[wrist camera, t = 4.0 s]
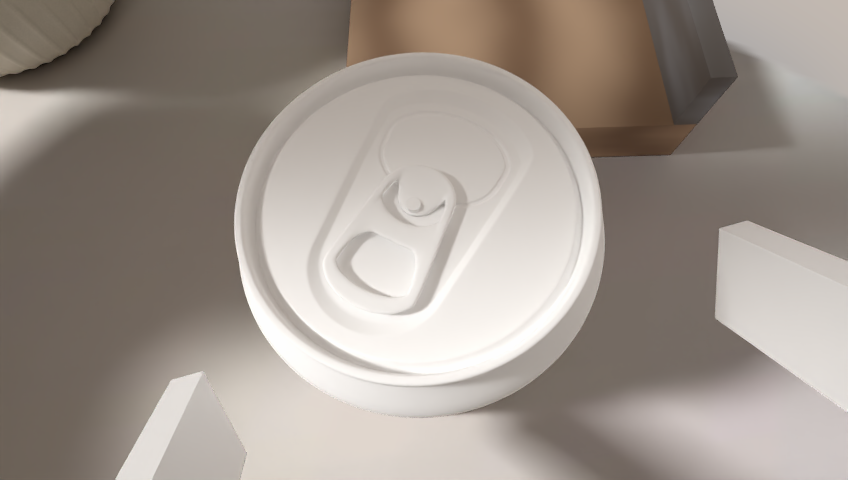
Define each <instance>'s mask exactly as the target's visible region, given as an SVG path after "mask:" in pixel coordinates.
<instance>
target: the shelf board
mask: <svg viewBox="0 0 848 480" xmlns="http://www.w3.org/2000/svg"><path fill="white" fill-rule="evenodd" d="M420 52H425V53H443V54H452V55H458V56H463V57H468V58H472V59H476V60H479V61H483V62H486V63H489V64H491V65H494V66H497V67H499V68H501V69H504V70H506V71H508V72H510V73H512V74H514V75H516V76H518V77H519V78H521V79H523V80H524V81H526V82H528V83H529V84H531V85H532V86H534V87H535V88H536V89H538V90H539V91H540V92H542V93H543V94H544V95H545V96H546V97H548V98H549V99H550V100H551V101H552V102H553V103H554V104H555V105H556V106H557V107H558V108H559V109H560V110H561V111H562V112H563V113H564V115H565V116H566V117H567V118H568V119H569V121H570V122H571V123H572V125H573V126H574V127H575V129H576V130H577V132H578V133H579V135H580V137H581V138H582V140H583V142H584V144H585V146H586V148H587V150H588V152H589V154H590V156H591V157H608V156H641V155H671V154H672V152H673V151H674V150H675V149H676V148H677V147H678V145H679V144H680V143H681V142H682V141H683V140H684V139H685V137H686V136H687V135H688V134H689V133H690V132H691V130H692V129H693V128H694V127H695V126H696V125H697V123H698V122H699V121H700V120H701V119H702V118H703V117H704V115H705V114H706V113H707V112H708V111H709V110H710V108H711V107H712V106H713V105H714V104H715V103H716V101H717V100H718V99H719V98H720V97H721V96H722V95H723V93H724V92H725V91H726V90H727V89H728V88H729V86H730V85H731V84H732V83H733V82H734V81H735V79H736V78H737V77H738V76H737V73H736V70H735V67H734V64H733V61H732V58H731V55H730V52H729V49H728V46H727V43H726V40H725V37H724V34H723V31H722V28H721V25H720V22H719V19H718V16H717V13H716V10H715V7H714V4H713V1H712V0H351V9H350V23H349V37H348V51H347V65H346V67H349V66H352V65H354V64H357V63H360V62H363V61H367V60H370V59H374V58H378V57H383V56H388V55H395V54H403V53H420Z"/></svg>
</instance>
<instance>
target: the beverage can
mask: <svg viewBox="0 0 848 480" xmlns="http://www.w3.org/2000/svg"><path fill="white" fill-rule="evenodd" d="M234 234H235V244H236V250H237V255H238V260H239V267H240V274H241V279H242V284H243V288H244V291H245V295H246V298H247V301H248V304H249V306H250V309H251V311H252V314H253V316H254V318H255V320H256V322H257V324H258V326H259V328H260V329H261V331H262V333H263V334H264V336H265V337H266V339H267V340H268V342H269V343H270V345H271V346H272V347H273V349H274V350H275V351H276V352H277V354H278V355H279V356H280V357H281V358H282V359H283V360H284V361H285V362H286V364H287V365H288V366H289V367H291V368H292V369H293V370H294V371H295V372H296V373H297V374H298V375H299V376H301V377H302V378H303V379H304V380H306V381H307V382H308V383H310V384H311V385H313V386H314V387H316V388H317V389H319V390H320V391H322V392H324V393H325V394H327V395H329V396H331V397H333V398H335V399H337V400H339V401H341V402H344V403H346V404H349V405H351V406H354V407H357V408H360V409H363V410H366V411H370V412H374V413H379V414H384V415H390V416H397V417H409V418H428V417H441V416H448V415H454V414H459V413H464V412H468V411H471V410H475V409H478V408H481V407H484V406H487V405H489V404H492V403H494V402H496V401H499V400H501V399H503V398H505V397H507V396H509V395H511V394H513V393H514V392H516V391H518V390H520V389H521V388H523V387H524V386H526V385H527V384H529V383H530V382H532V381H533V380H534V379H536V378H537V377H538V376H539V375H541V374H542V373H543V372H544V371H545V370H547V369H548V368H549V367H550V366H551V365H552V364H553V363H554V362H555V361H556V360H557V359H558V358H559V357H560V356H561V354H562V353H563V352H564V351H565V350H566V349H567V347H568V346H569V345H570V344H571V342H572V341H573V339H574V338H575V337H576V335H577V333H578V332H579V330H580V329H581V327H582V325H583V323H584V322H585V320H586V318H587V316H588V314H589V312H590V309H591V307H592V305H593V302H594V299H595V297H596V294H597V291H598V287H599V284H600V279H601V275H602V270H603V263H604V253H605V230H604V220H603V213H602V200H601V192H600V187H599V182H598V178H597V174H596V170H595V167H594V164H593V162H592V159H591V156H590V154H589V152H588V150H587V148H586V146H585V144H584V142H583V140H582V138H581V137H580V135H579V133H578V132H577V130H576V129H575V127H574V126H573V125H572V123H571V122H570V121H569V119H568V118H567V117H566V116H565V115H564V113H563V112H562V111H561V110H560V109H559V108H558V107H557V106H556V105H555V104H554V103H553V102H552V101H551V100H550V99H549V98H548V97H546V96H545V95H544V94H543V93H542V92H540V91H539V90H538V89H536V88H535V87H534V86H532V85H531V84H529V83H528V82H526V81H524V80H523V79H521V78H519V77H518V76H516V75H514V74H512V73H510V72H508V71H506V70H504V69H501V68H499V67H497V66H494V65H491V64H489V63H486V62H483V61H479V60H476V59H472V58H468V57H463V56H458V55H452V54H443V53H425V52H420V53H403V54H395V55H388V56H383V57H378V58H374V59H370V60H367V61H363V62H360V63H357V64H354V65H352V66H349V67H346V68H344V69H342V70H339V71H337V72H335V73H333V74H331V75H329V76H327V77H326V78H324V79H322V80H320V81H319V82H317V83H315V84H314V85H312V86H311V87H309V88H308V89H307V90H305V91H304V92H302V93H301V94H300V95H299V96H297V97H296V98H295V99H294V100H293V101H291V102H290V103H289V104H288V105H287V106H286V107H285V108H284V109H283V110H282V111H281V112H280V113H279V114H278V115H277V116H276V117H275V119H274V120H273V121H272V122H271V123H270V125H269V126H268V127H267V129H266V130H265V131H264V133H263V134H262V136H261V137H260V139H259V140H258V142H257V144H256V145H255V147H254V149H253V151H252V153H251V155H250V157H249V159H248V161H247V163H246V166H245V168H244V171H243V174H242V177H241V180H240V184H239V188H238V192H237V197H236V204H235V214H234Z"/></svg>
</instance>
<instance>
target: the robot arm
mask: <svg viewBox="0 0 848 480" xmlns="http://www.w3.org/2000/svg"><path fill="white" fill-rule="evenodd" d="M715 319H717V320H718V321H719V322H721V323H722V324H724V325H725V326H727V327H728V328H729V329H731V330H732V331H734V332H735V333H736V334H738V335H739V336H741V337H742V338H743V339H745V340H746V341H748V342H749V343H750V344H752V345H753V346H755V347H756V348H757V349H759V350H760V351H762V352H763V353H764V354H766V355H767V356H769V357H770V358H771V359H773V360H774V361H776V362H777V363H779V364H780V365H781V366H783V367H784V368H786V369H787V370H788V371H790V372H791V373H793V374H794V375H795V376H797V377H798V378H800V379H801V380H802V381H804V382H805V383H807V384H808V385H809V386H811V387H812V388H814V389H815V390H816V391H818V392H819V393H821V394H822V395H823V396H825V397H826V398H828V399H829V400H831V401H832V402H833V403H835V404H836V405H838V406H839V407H840V408H842V409H843V410H845V411H846V412H847V413H848V261H846V260H844V259H841V258H839V257H836V256H834V255H831V254H829V253H826V252H824V251H822V250H819V249H817V248H814V247H812V246H809V245H807V244H804V243H802V242H799V241H797V240H794V239H792V238H790V237H787V236H785V235H782V234H780V233H777V232H775V231H772V230H770V229H767V228H765V227H762V226H760V225H758V224H755V223H753V222H750V221H748V220H747V221H743V222H740V223H736V224H733V225H729V226H725V227H722V228H719V244H718V264H717V284H716V304H715ZM246 455H247V452H246V450H245V448H244V446H243V445H242V443H241V441H240V439H239V437H238V435H237V433H236V431H235V430H234V428H233V426H232V424H231V422H230V420H229V418H228V416H227V415H226V413H225V411H224V409H223V407H222V405H221V403H220V401H219V400H218V398H217V396H216V394H215V392H214V390H213V388H212V386H211V385H210V383H209V381H208V379H207V377H206V375H205V373H204V371H201V372H198V373H194V374H191V375H187V376H183V377H180V378H176V379H173V380H171V381H170V383H169V384H168V386H167V388H166V390H165V392H164V393H163V395H162V397H161V399H160V401H159V402H158V404H157V406H156V408H155V409H154V411H153V413H152V415H151V417H150V418H149V420H148V422H147V424H146V425H145V427H144V429H143V431H142V433H141V434H140V436H139V438H138V440H137V441H136V443H135V445H134V447H133V449H132V450H131V452H130V454H129V456H128V457H127V459H126V461H125V463H124V465H123V466H122V468H121V470H120V472H119V473H118V475H117V477H116V479H115V480H240V477H241V474H242V470H243V466H244V462H245V459H246Z"/></svg>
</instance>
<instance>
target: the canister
mask: <svg viewBox="0 0 848 480" xmlns="http://www.w3.org/2000/svg"><path fill="white" fill-rule="evenodd" d="M114 1H115V0H0V77H1V76H5V75H7V74H9V73H10V74H18V73H20V72H22V71H24V70H26V69H35V68H36V67H38V66H39V65H41V64H43V63H46V62H51V61H52V60H53V59H55V58H56V57H58V56H60V55H65V54H66V53H67V51H68V50H69V49H71V48H72V47H74V46H78V45H79V44H80V42H81V41H82V40H83V39H84V38H86V37H88V36H90V35H91V32H92V31H93V29H94V28H95V27H97V26H99V25H100V24H101V20H102V19H103V17H104V16H105V15H107V14H108V13H109V10H110V6H111V4H113V3H114Z"/></svg>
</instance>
